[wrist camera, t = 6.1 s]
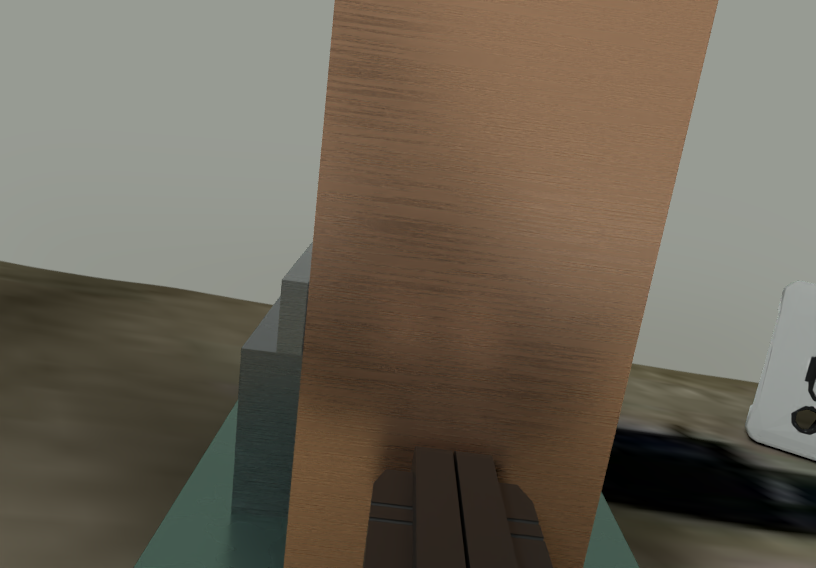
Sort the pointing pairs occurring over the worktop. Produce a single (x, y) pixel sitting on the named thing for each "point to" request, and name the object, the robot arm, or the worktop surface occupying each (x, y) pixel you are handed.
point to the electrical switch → (788, 376)
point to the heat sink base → (275, 461)
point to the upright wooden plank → (484, 247)
